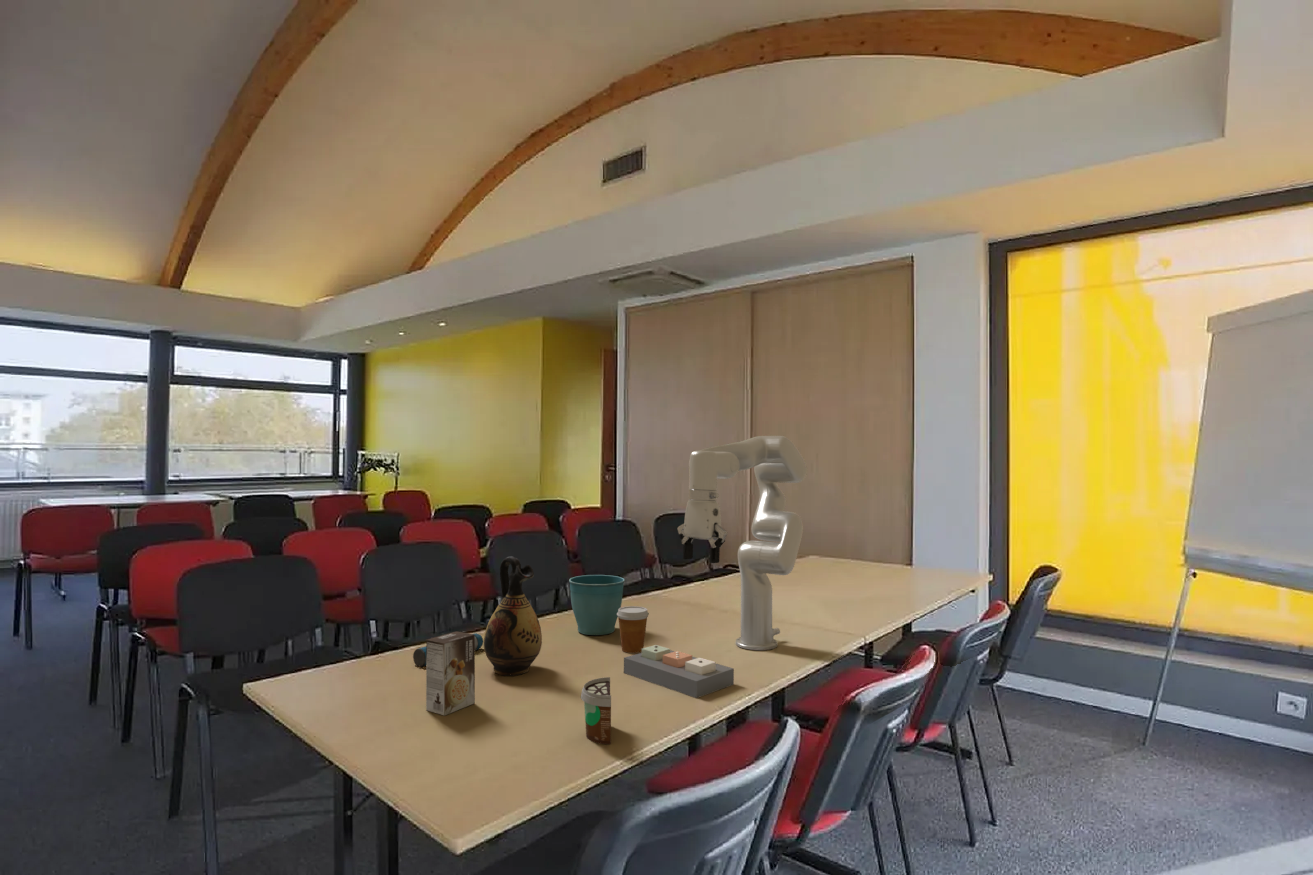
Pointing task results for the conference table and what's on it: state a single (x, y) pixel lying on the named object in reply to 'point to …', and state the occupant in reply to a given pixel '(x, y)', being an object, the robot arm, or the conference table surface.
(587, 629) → the flower pot
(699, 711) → the conference table surface
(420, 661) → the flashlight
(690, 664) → the button one dot
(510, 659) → the ceramic jug
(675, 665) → the button three dots
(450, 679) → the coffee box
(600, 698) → the food container
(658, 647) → the button two dots
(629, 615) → the disposable coffee cup
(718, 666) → the console
